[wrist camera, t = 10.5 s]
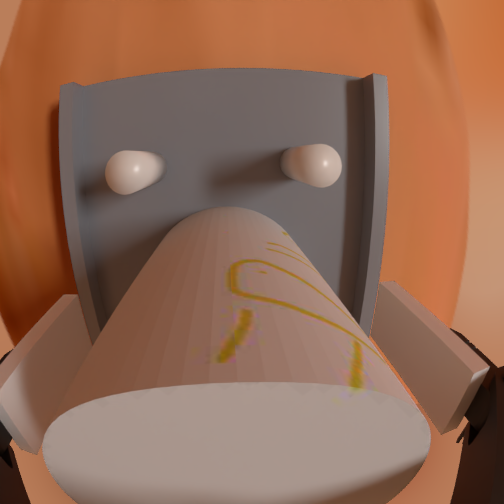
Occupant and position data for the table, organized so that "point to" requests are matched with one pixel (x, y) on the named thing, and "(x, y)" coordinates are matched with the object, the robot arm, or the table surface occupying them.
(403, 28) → the table surface
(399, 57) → the table surface
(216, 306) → the cup
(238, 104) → the tray
